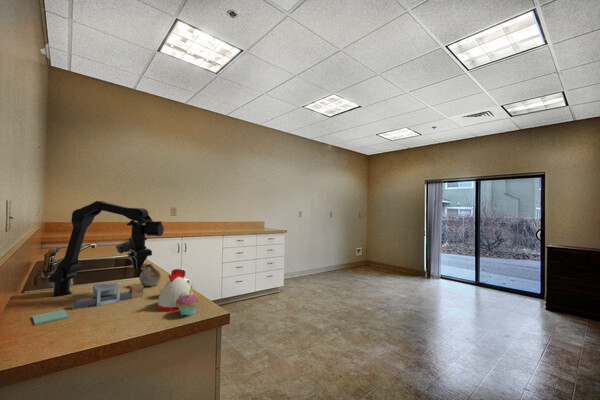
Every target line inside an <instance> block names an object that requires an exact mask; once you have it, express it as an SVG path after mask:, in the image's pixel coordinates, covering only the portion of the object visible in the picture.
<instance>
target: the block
mask: <svg viewBox="0 0 600 400" xmlns="http://www.w3.org/2000/svg"><path fill="white" fill-rule="evenodd" d="M128 288H129V290H128V291H130V292H131V293H132V298H131V299H130V300H132V299H138V297H139V298H143V297H144V285H143V284H142V283H137V284H131V285H130V284H129V287H128Z"/></svg>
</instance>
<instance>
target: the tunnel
mask: <svg viewBox="0 0 600 400" xmlns="http://www.w3.org/2000/svg"><path fill="white" fill-rule="evenodd" d="M91 291H92V292H91V293H92V295H91V298H92V297H97V302H96V305H95V306H97V307H98V306H104V305H110V304H113V303H114V304H115V303H120V302H121V301H120V293H121V286H120V284H117V283H116V282H107V283H106V282H105V283H99V284H94V285H92V290H91ZM116 293H117V294H116ZM110 294H116V299H112V300H107V301H102V302H100V296H104V295H110Z"/></svg>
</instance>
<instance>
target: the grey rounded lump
mask: <svg viewBox="0 0 600 400" xmlns="http://www.w3.org/2000/svg"><path fill="white" fill-rule="evenodd" d="M144 265H145V266H143V270H142V271H141V272H140V274H139V276H138V277H139V281H140V284H141V285H143V287H154V285H155V286H156V285H158V284H159V283H160V281H161V279H162V275H161V271H160V270H159V269H158V268H157V267H155V266H154V265H153V264H151V263H148V264H147V262H144Z"/></svg>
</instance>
